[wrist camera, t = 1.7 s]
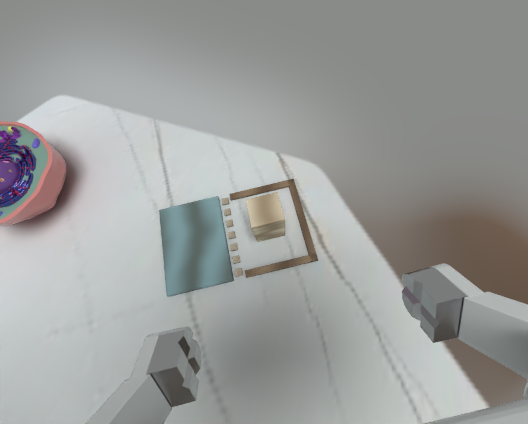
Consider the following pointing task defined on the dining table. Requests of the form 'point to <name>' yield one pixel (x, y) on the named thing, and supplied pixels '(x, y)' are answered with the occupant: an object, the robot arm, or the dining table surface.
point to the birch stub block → (266, 216)
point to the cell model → (27, 173)
